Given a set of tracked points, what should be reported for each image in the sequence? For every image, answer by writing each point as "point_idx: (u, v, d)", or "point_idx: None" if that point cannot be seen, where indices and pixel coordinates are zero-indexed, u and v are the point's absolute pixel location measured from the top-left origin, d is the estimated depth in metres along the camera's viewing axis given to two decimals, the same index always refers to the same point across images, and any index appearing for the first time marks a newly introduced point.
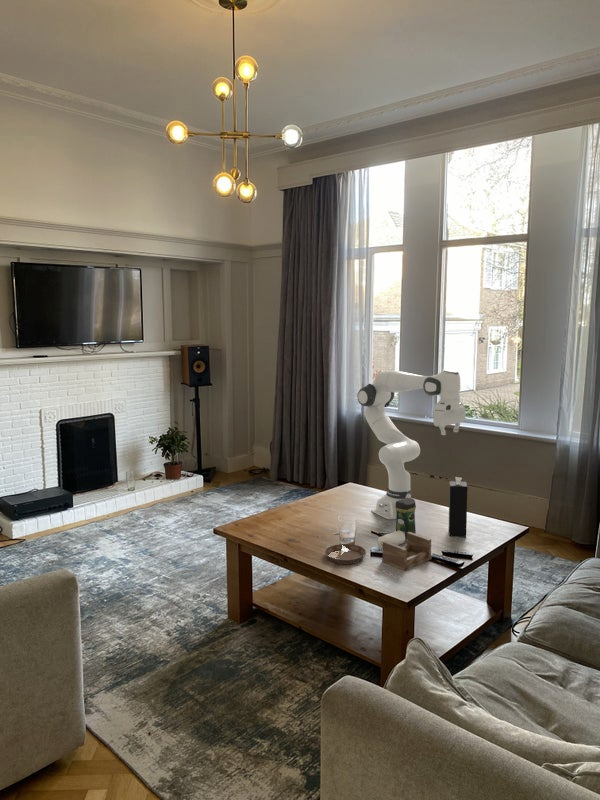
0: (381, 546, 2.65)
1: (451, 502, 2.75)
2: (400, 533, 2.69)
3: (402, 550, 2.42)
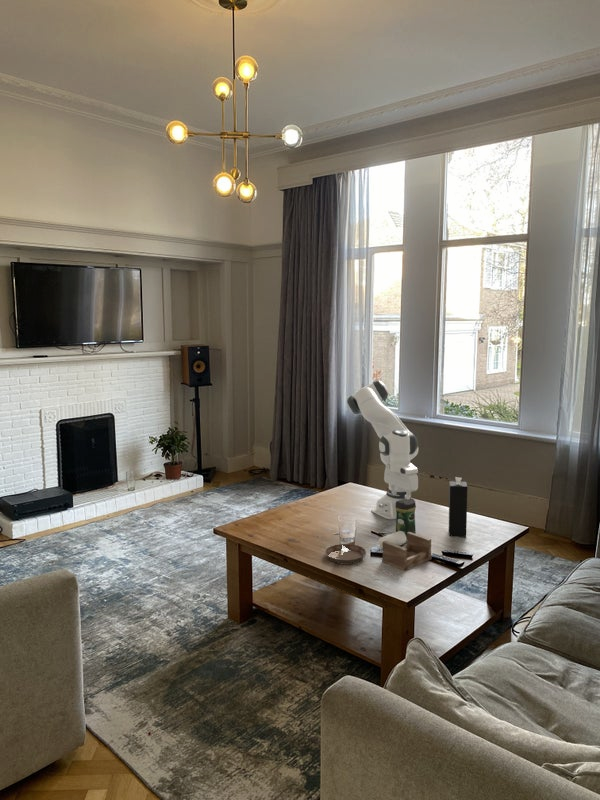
0: (382, 546, 2.64)
1: (451, 502, 2.75)
2: (402, 534, 2.68)
3: (402, 550, 2.42)
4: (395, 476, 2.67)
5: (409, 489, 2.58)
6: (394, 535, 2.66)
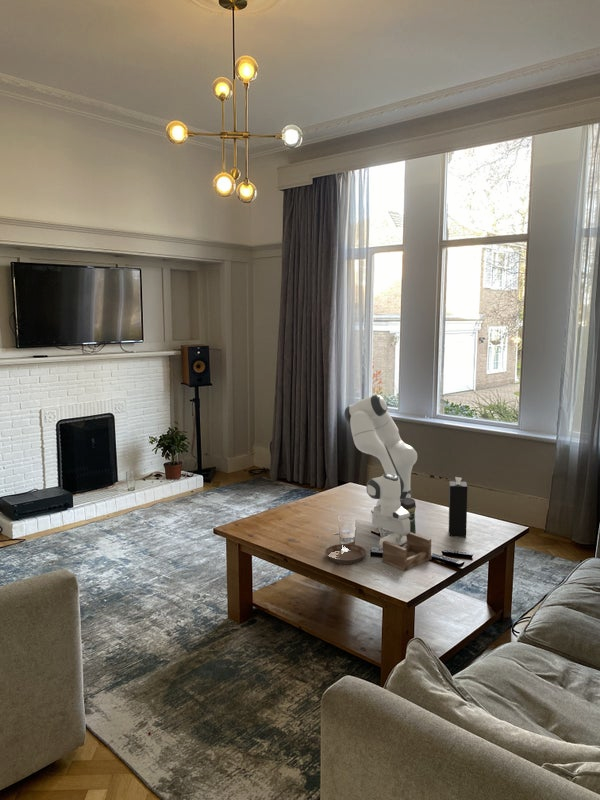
0: (381, 542, 2.64)
1: (451, 502, 2.75)
2: (404, 541, 2.68)
3: (402, 550, 2.42)
4: (385, 519, 2.66)
5: (402, 533, 2.59)
6: None
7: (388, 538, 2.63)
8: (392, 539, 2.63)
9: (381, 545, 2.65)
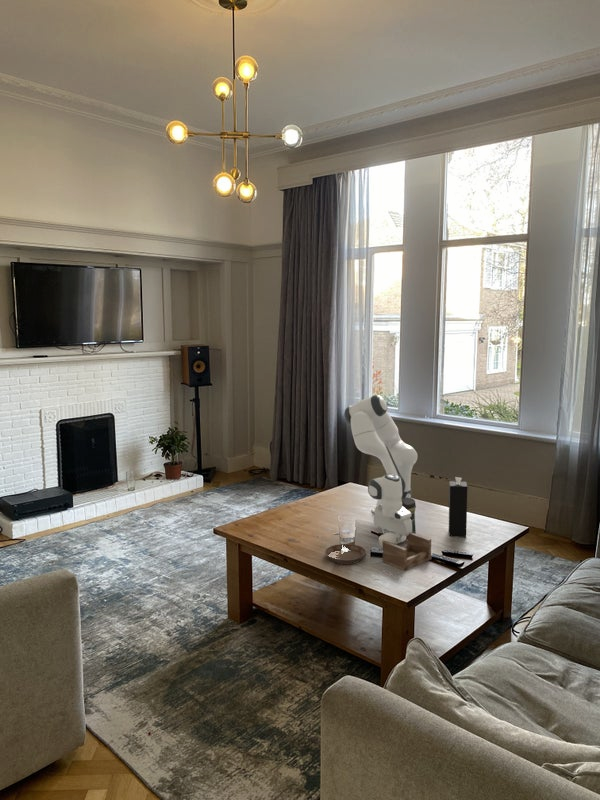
0: (381, 541, 2.65)
1: (451, 502, 2.75)
2: (404, 536, 2.68)
3: (402, 550, 2.42)
4: (387, 520, 2.67)
5: (404, 534, 2.59)
6: (397, 537, 2.66)
7: (386, 534, 2.64)
8: (390, 535, 2.64)
9: (381, 544, 2.65)
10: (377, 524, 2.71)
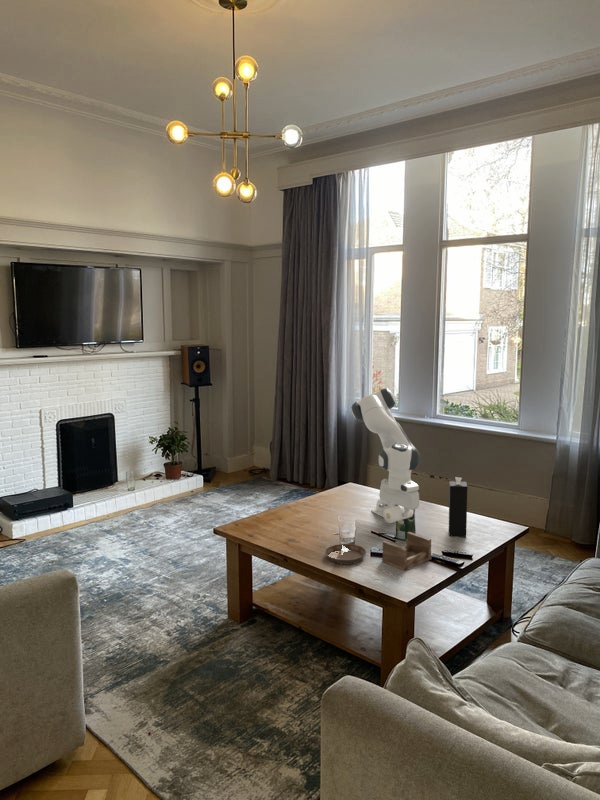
0: (385, 515, 2.49)
1: (451, 502, 2.75)
2: (410, 512, 2.52)
3: (402, 550, 2.42)
4: (393, 493, 2.51)
5: (410, 507, 2.43)
6: (403, 511, 2.49)
7: (391, 508, 2.48)
8: (395, 509, 2.48)
9: (386, 518, 2.49)
10: (383, 498, 2.56)
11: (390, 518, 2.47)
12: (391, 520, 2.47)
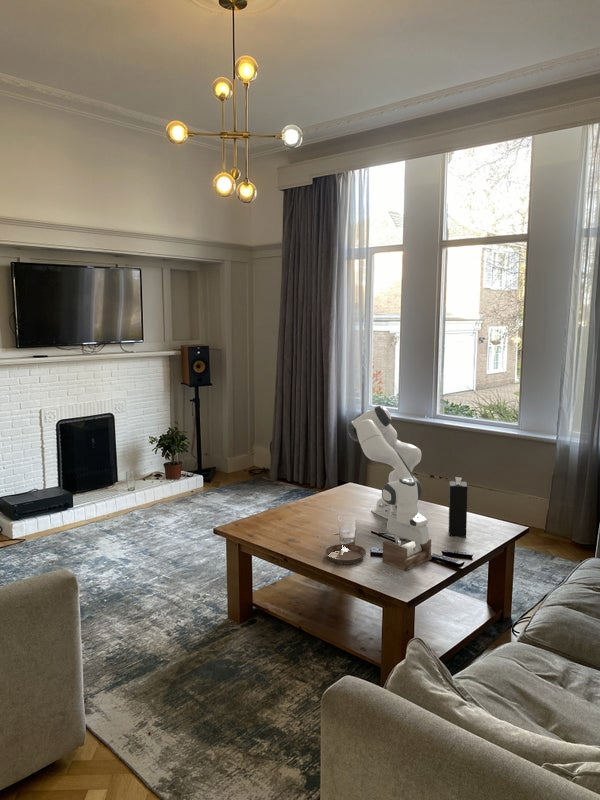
0: None
1: (451, 502, 2.75)
2: (419, 549, 2.52)
3: (402, 550, 2.42)
4: (401, 527, 2.50)
5: (420, 542, 2.43)
6: (411, 549, 2.50)
7: None
8: (404, 547, 2.48)
9: None
10: (391, 531, 2.55)
11: None
12: None
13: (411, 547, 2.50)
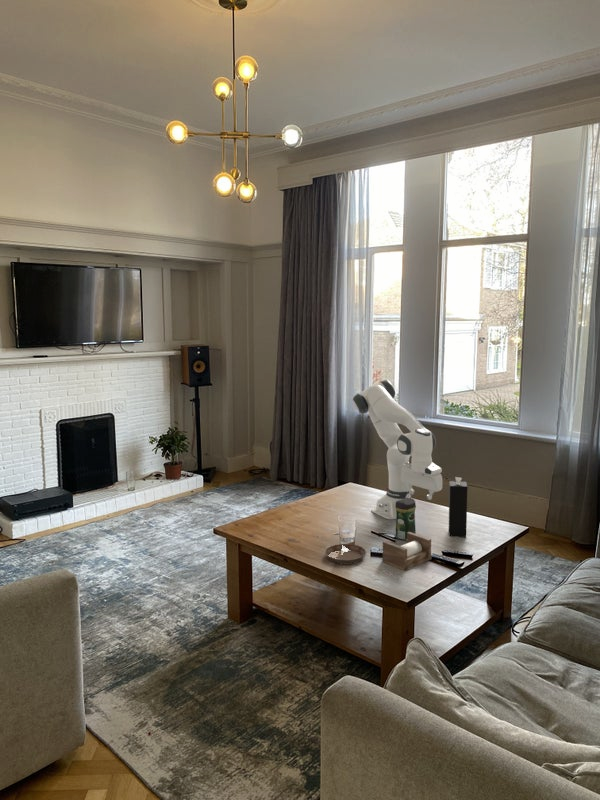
0: None
1: (451, 502, 2.75)
2: (419, 550, 2.52)
3: (402, 550, 2.42)
4: (416, 476, 2.60)
5: (434, 489, 2.53)
6: (412, 550, 2.49)
7: None
8: None
9: None
10: (404, 481, 2.65)
11: None
12: None
13: (411, 547, 2.50)
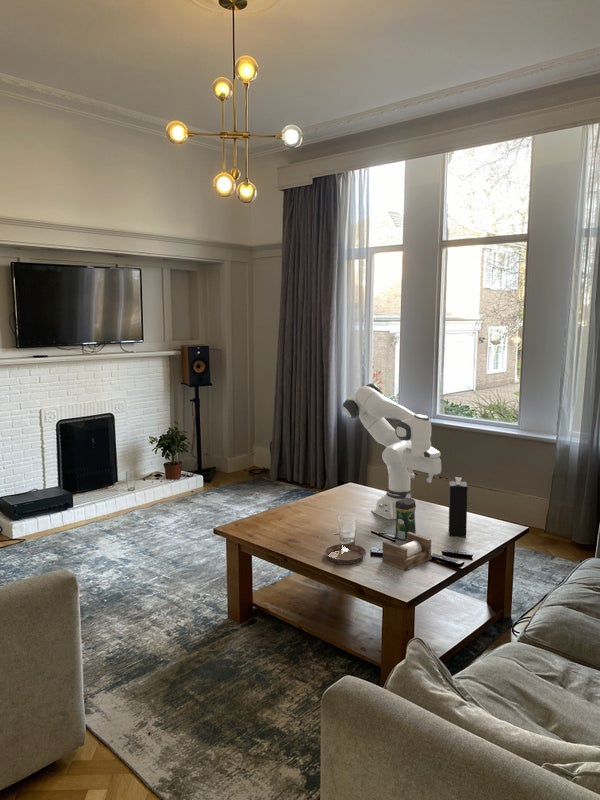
0: None
1: (451, 502, 2.75)
2: (419, 549, 2.52)
3: (402, 550, 2.42)
4: (416, 460, 2.68)
5: (433, 472, 2.60)
6: (412, 550, 2.49)
7: None
8: None
9: None
10: (405, 465, 2.72)
11: None
12: None
13: (411, 547, 2.50)
